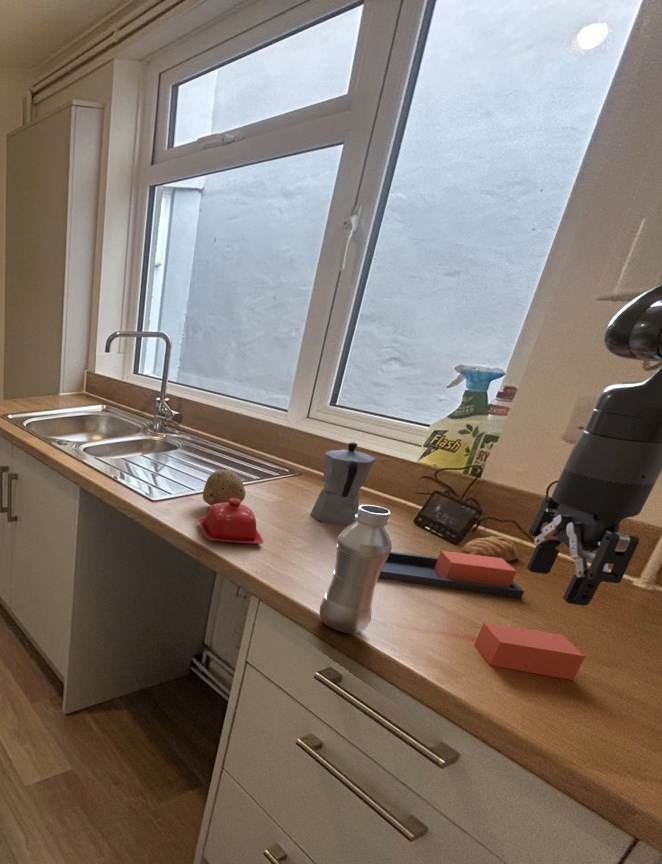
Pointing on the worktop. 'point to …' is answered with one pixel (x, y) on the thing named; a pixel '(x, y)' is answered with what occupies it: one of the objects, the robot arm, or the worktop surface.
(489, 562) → the red block
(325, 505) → the coffeepot
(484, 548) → the pastry
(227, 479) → the natural sponge
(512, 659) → the red toy brick
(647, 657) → the worktop surface
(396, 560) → the tray
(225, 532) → the butter dish
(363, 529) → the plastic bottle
